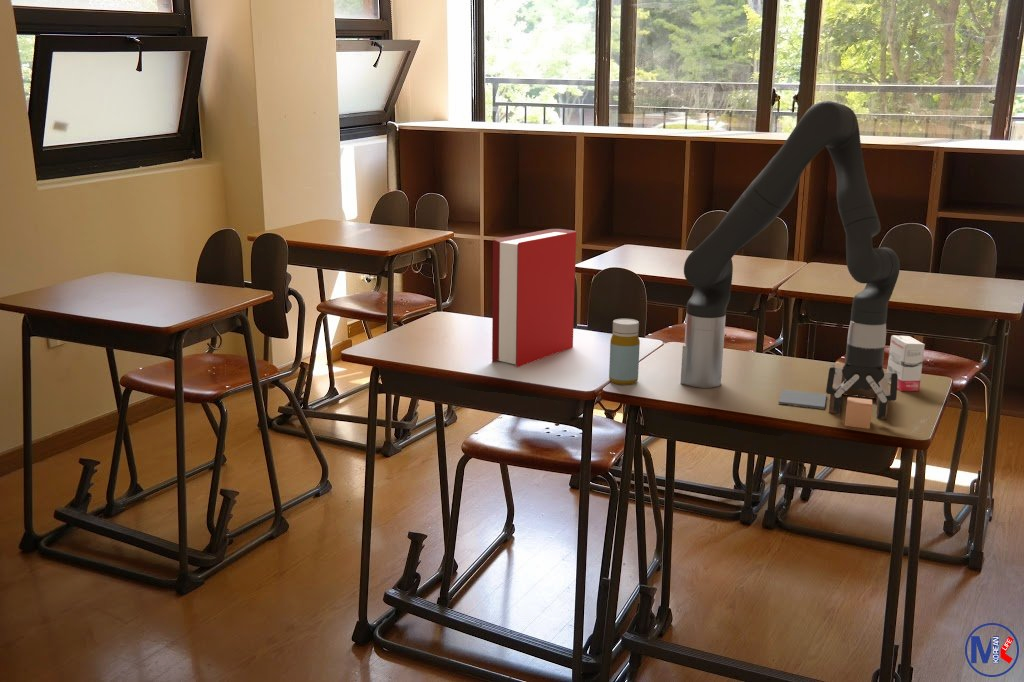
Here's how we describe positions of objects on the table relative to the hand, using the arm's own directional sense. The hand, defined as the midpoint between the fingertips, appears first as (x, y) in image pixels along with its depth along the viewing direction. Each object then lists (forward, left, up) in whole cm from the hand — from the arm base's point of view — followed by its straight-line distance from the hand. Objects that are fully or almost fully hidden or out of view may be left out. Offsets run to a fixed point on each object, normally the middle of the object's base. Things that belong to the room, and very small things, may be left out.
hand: (858, 415), depth 207 cm
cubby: (0, +13, -1) cm, 13 cm away
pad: (-12, +12, -2) cm, 17 cm away
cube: (0, -1, -2) cm, 2 cm away
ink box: (+10, +33, -2) cm, 34 cm away
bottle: (-54, +11, -2) cm, 55 cm away
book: (-82, +27, -2) cm, 86 cm away
